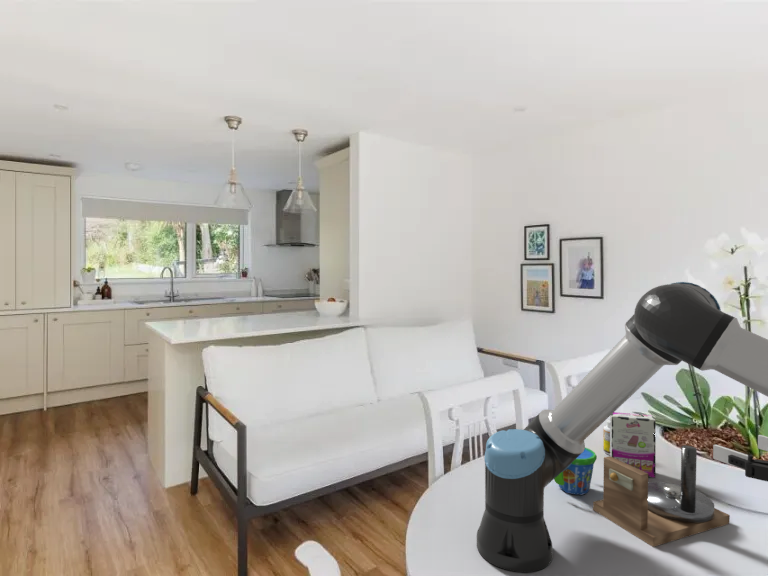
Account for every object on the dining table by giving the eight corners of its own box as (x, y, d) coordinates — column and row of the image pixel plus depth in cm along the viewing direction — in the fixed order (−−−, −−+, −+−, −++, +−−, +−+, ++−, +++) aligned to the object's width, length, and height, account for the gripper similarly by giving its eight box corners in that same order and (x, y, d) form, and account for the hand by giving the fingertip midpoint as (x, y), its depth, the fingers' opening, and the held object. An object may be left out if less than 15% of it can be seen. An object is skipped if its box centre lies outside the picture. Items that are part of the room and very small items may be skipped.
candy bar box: (652, 471, 132) (653, 414, 132) (655, 478, 127) (656, 420, 127) (609, 465, 136) (609, 410, 135) (611, 472, 131) (611, 415, 131)
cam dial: (629, 487, 117) (630, 425, 116) (693, 492, 115) (694, 428, 114) (654, 519, 102) (655, 448, 102) (728, 525, 100) (730, 452, 99)
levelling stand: (647, 548, 96) (648, 482, 95) (588, 511, 110) (588, 453, 110) (729, 523, 105) (730, 463, 104) (664, 492, 120) (665, 439, 119)
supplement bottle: (613, 449, 149) (613, 417, 148) (627, 455, 143) (627, 423, 143) (599, 451, 147) (599, 419, 146) (612, 457, 142) (613, 425, 141)
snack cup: (573, 474, 130) (574, 439, 130) (609, 489, 122) (609, 451, 121) (537, 489, 122) (538, 451, 121) (573, 506, 113) (573, 465, 113)
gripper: (835, 533, 68) (694, 475, 88) (921, 501, 77) (776, 455, 97) (836, 483, 68) (694, 436, 88) (922, 456, 77) (776, 420, 97)
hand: (737, 446), depth 93 cm, fingers open, 13 cm apart
